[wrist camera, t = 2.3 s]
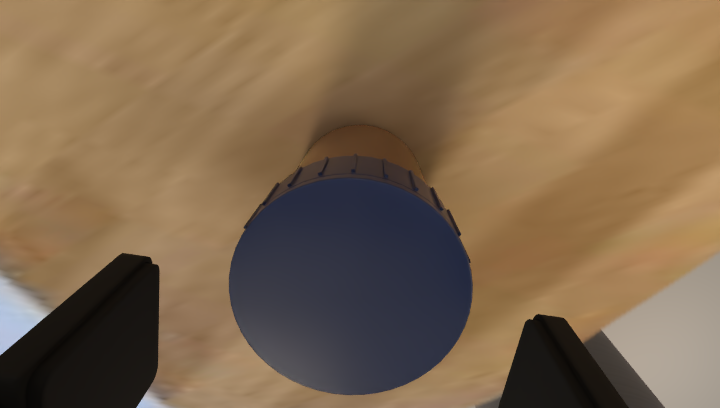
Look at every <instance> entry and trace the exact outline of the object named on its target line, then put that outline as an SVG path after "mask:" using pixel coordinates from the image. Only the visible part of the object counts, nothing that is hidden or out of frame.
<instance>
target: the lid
mask: <svg viewBox="0 0 720 408" xmlns="http://www.w3.org/2000/svg"><path fill="white" fill-rule="evenodd" d="M244 228H245V229H246V230H245V231H244V233H243V234H242V236H241V238H240V240H239V242H238V244H237V246H236V248H235V252H234V255H233V258H232V261H231V267H230V274H229V294H230V300H231V306H232V309H233V313H234V316H235V319H236V322H237V324H238V326H239V328H240V330H241V332H242V334H243V336H244V337H245V339H246V340H247V342H248V344H249V345H250V346H251V347H252V348H253V350H254V351H255V352H256V353H257V355H258V356H259V357H261V358H262V359H263V360H264V361H265V362H266V363H267V364H268V365H269V366H271V367H272V368H273V369H275V370H276V371H277V372H279V373H280V374H282V375H283V376H285V377H287V378H289V379H290V380H292V381H294V382H297V383H299V384H301V385H303V386H306V387H309V388H312V389H315V390H318V391H323V392H328V393H333V394H343V395H365V394H373V393H379V392H383V391H387V390H392V389H394V388H397V387H400V386H403V385H405V384H407V383H409V382H411V381H413V380H415V379H417V378H419V377H421V376H422V375H424V374H425V373H427V372H428V371H430V370H431V369H432V368H433V367H435V366H436V365H437V364H438V363H439V362H440V361H441V360H442V359H443V358H444V357H445V356H446V355H447V354H448V353H449V352H450V351H451V349H452V348H453V346H454V345H455V343H456V342H457V340H458V339H459V337H460V335H461V333H462V331H463V329H464V327H465V325H466V322H467V319H468V316H469V313H470V308H471V302H472V290H473V283H472V274H471V268H470V264H469V263H470V259H469V257H468V255H467V253H466V250H465V248H464V246H463V244H462V242H461V240H460V238H459V236H460V235H461V233H460V231H459V229H458V227H457V225H456V223H455V221H454V219H453V216H452V214H451V212H450V210H449V209H448V210H446V208H445V207H444V205H443V203H442V202H441V200H440V199H439V197H438V195H437V193H436V191H435V189H434V188H433V187H432V188H430V187H429V186H428V185H427V184H426V183H425V182H424V181H422V180H421V179H420V178H419V177H417V176H416V175H414V173H413V171H412V170H409V171H408V170H406V169H404V168H402V167H400V166H399V165H396V164H394V163H391V162H388V161H387V159H385V158H383V160H382V159H377V158H373V157H366V156H357V154H354V156H339V157H333V158H328V156H327V157H325V158H324V160H320V161H317V162H314V163H312V164H309V165H307V166H305V167H303V168H302V167H301V166H300V167H298V169H297V170H296V172H294V173H293V174H291V175H290V176H288V177H287V178H286V179H285V180H284V181H282V182H281V183H280V184H279V183H277V184H276V185H275V186H274V187H273V189H272V190H271V192H270V193H269V194H268V196H267V197H266V199H265V200H264V201H263V203H262V204H260V205H259V207H258V208H257V210H256V211H255V212H254V214H253V215H252V216H251V218H250V219H249V221H248V222H247V223H246V225H245V226H244Z"/></svg>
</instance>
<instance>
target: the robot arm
mask: <svg viewBox="0 0 720 408" xmlns="http://www.w3.org/2000/svg"><path fill="white" fill-rule="evenodd" d="M158 330H159V266H158V265H156V264H152V260H151V258H150V257H146V256H140V255H133V254H126V253H122V254H120V255H119V256H118V257H116V258H115V259H114V260H113V261H112V262H110V263H109V264H108V265H107V266H106V267H105V268H103V269H102V270H101V271H100V272H99V273H97V274H96V275H95V276H94V277H93V278H92V279H90V280H89V281H88V282H87V283H86V284H84V285H83V286H82V287H81V288H80V289H78V290H77V291H76V292H75V293H74V294H73V295H71V296H70V297H69V298H68V299H67V300H65V301H64V302H63V303H62V304H61V305H60V306H58V307H57V308H56V309H55V310H54V311H52V312H51V313H50V314H49V315H48V316H47V317H45V318H44V319H43V320H42V321H41V322H39V323H38V324H37V325H36V326H35V327H33V328H32V329H31V330H30V331H29V332H28V333H26V334H25V335H24V336H23V337H22V338H20V339H19V340H18V341H17V342H16V343H15V344H13V345H12V346H11V347H10V348H9V349H7V350H6V351H5V352H4V353H3V354H2V355H0V408H136V407H137V406H138V404H139V403H140V401H141V400H142V398H143V396H144V395H145V393H146V392H147V390H148V389H149V387H150V385H151V384H152V382H153V380H154V378H155V376H156V372H157V368H158ZM498 408H629V407H628V406H627V405H626V403H625V402H624V401H623V399H622V398H621V396H620V395H619V394H618V392H617V391H616V389H615V388H614V387H613V385H612V384H611V382H610V381H609V380H608V378H607V377H606V375H605V374H604V373H603V371H602V370H601V368H600V367H599V366H598V364H597V363H596V361H595V360H594V359H593V357H592V356H591V354H590V353H589V352H588V350H587V349H586V347H585V346H584V345H583V343H582V342H581V340H580V339H579V338H578V336H577V335H576V333H575V332H574V331H573V329H572V328H571V326H570V325H569V324H568V322H567V321H566V320H565V319H564V318H561V317H554V316H547V315H540V314H538V315H536V316H535V317H534V318H533V320H531V319H528V320H527V321H526V322H525V325H524V328H523V331H522V334H521V337H520V340H519V344H518V347H517V350H516V353H515V356H514V359H513V363H512V366H511V369H510V372H509V375H508V378H507V382H506V385H505V388H504V391H503V394H502V397H501V401H500V404H499V407H498Z"/></svg>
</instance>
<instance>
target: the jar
mask: <svg viewBox="0 0 720 408" xmlns="http://www.w3.org/2000/svg"><path fill="white" fill-rule="evenodd" d="M354 154H357V156H366V157H373V158H377V159H382V160H383V158H385V159H387V161H388V162H391V163H394V164H396V165H399V166H400V167H402V168H404V169H406V170H408V171H409V170H412V171H413V173H414V175H416V176H417V177H419V178H420V179H421V180H422V181H424V182H425V180H424V177H423V175H422V172H421V170H420V167H419V165H418V163H417V160H416V158H415V156H414V155H413V153H412V151H411V150H410V149H409V148H408V146H407V145H406V144H405V143H404V142H403V141H402V140H401V139H399V138H398V137H396V136H395V135H394V134H392V133H390V132H388V131H386V130H383V129H381V128H378V127H374V126H369V125H351V126H345V127H342V128H338V129H336V130H334V131H331V132H329V133H328V134H326V135H325V136H323V137H322V138H320V139H319V140H318V141H317V142H316V143H315V144H314V145H313V146H312V147H311V148H310V150H309V151H308V153H307V154H306V156H305V157H304V159H303V160H302V162H301V164H300V165H299V167H300V166H301V167H302V168H303V167H305V166H307V165H309V164H312V163H314V162H317V161H320V160H324V158H325V157H327V156H328V158H333V157H339V156H354ZM297 169H298V168H297ZM295 172H296V171H295ZM425 183H426V182H425Z"/></svg>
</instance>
